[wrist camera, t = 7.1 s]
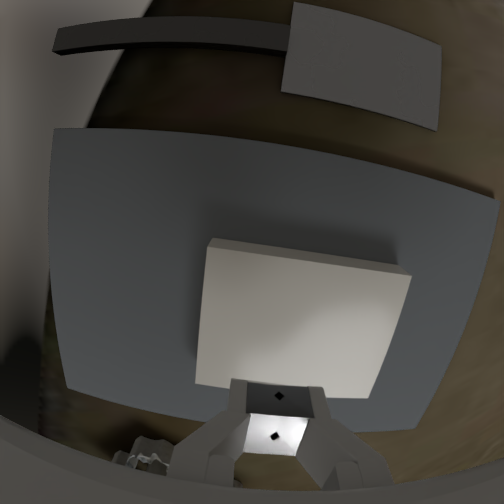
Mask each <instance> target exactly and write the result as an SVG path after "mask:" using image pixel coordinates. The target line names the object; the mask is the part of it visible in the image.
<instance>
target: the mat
mask: <svg viewBox="0 0 504 504" xmlns="http://www.w3.org/2000/svg"><path fill="white" fill-rule="evenodd" d="M500 202H501V201H498V200H495V199H493V198H490V197H487V196H484V195H481V194H478V193H475V192H473V191H470V190H467V189H463V188H460V187H457V186H454V185H451V184H448V183H445V182H441V181H438V180H435V179H431V178H428V177H424V176H421V175H417V174H414V173H410V172H406V171H403V170H399V169H395V168H391V167H387V166H383V165H379V164H375V163H371V162H367V161H362V160H358V159H353V158H349V157H344V156H340V155H335V154H330V153H325V152H320V151H314V150H309V149H304V148H298V147H292V146H286V145H280V144H274V143H268V142H261V141H254V140H247V139H239V138H231V137H223V136H214V135H204V134H194V133H183V132H170V131H156V130H137V129H108V128H65V129H64V128H62V129H61V128H60V129H54V135H53V144H52V154H51V166H50V181H49V207H48V209H49V211H48V212H49V213H48V231H49V233H48V235H49V262H50V277H51V289H52V299H53V308H54V316H55V324H56V331H57V337H58V343H59V349H60V355H61V360H62V365H63V370H64V375H65V379H66V384H67V388H70V389H73V390H76V391H79V392H82V393H85V394H88V395H91V396H94V397H98V398H101V399H104V400H108V401H111V402H115V403H119V404H122V405H126V406H130V407H134V408H138V409H142V410H147V411H151V412H155V413H160V414H165V415H169V416H174V417H180V418H185V419H190V420H196V421H202V422H208V421H209V420H211V419H212V418H213V417H215V416H216V415H217V414H219V413H220V412H221V411H222V410H224V411H226V409H227V402H228V395H229V389H228V388H221V387H214V386H208V385H201V384H195V379H196V365H197V351H198V339H199V327H200V315H201V304H202V294H203V283H204V273H205V264H206V254H207V246H208V245H209V243H210V241H211V240H212V238H219V239H226V240H233V241H240V242H247V243H254V244H261V245H268V246H275V247H282V248H289V249H295V250H302V251H309V252H316V253H322V254H329V255H336V256H342V257H349V258H356V259H362V260H369V261H375V262H382V263H388V264H395V265H399V266H400V267H401V268H403V269H404V270H405V271H406V272H408V273H409V274H410V275H411V276H412V277H411V281H410V284H409V288H408V291H407V294H406V298H405V301H404V304H403V307H402V310H401V313H400V316H399V319H398V322H397V325H396V328H395V331H394V334H393V337H392V339H391V342H390V345H389V348H388V350H387V353H386V355H385V358H384V361H383V363H382V366H381V368H380V371H379V373H378V376H377V378H376V380H375V383H374V385H373V387H372V390H371V392H370V394H369V397H368V398H328V397H326V399H327V403H328V407H329V410H330V414H331V418H332V419H336V420H338V421H339V422H340V423H341V424H342V425H344V426H345V427H346V428H347V429H349V430H350V431H351V432H376V431H392V430H405V429H415V428H416V426H417V424H418V423H419V421H420V419H421V418H422V416H423V414H424V412H425V410H426V409H427V407H428V405H429V403H430V401H431V400H432V398H433V396H434V394H435V392H436V390H437V388H438V386H439V384H440V382H441V380H442V378H443V376H444V374H445V372H446V370H447V368H448V365H449V363H450V361H451V359H452V357H453V354H454V352H455V350H456V348H457V345H458V343H459V341H460V338H461V336H462V333H463V331H464V328H465V326H466V323H467V320H468V318H469V315H470V312H471V310H472V307H473V304H474V301H475V298H476V295H477V292H478V289H479V286H480V283H481V280H482V277H483V273H484V270H485V266H486V263H487V259H488V256H489V252H490V248H491V244H492V240H493V236H494V231H495V227H496V222H497V218H498V213H499V207H500Z"/></svg>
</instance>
